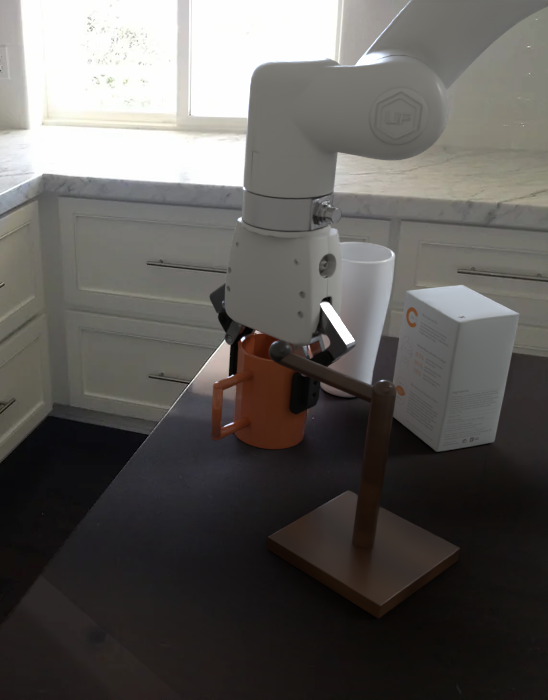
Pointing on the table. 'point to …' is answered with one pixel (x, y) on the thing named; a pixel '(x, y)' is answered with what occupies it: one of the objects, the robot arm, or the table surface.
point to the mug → (259, 398)
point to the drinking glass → (362, 307)
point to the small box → (452, 366)
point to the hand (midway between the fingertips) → (271, 393)
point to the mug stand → (361, 515)
